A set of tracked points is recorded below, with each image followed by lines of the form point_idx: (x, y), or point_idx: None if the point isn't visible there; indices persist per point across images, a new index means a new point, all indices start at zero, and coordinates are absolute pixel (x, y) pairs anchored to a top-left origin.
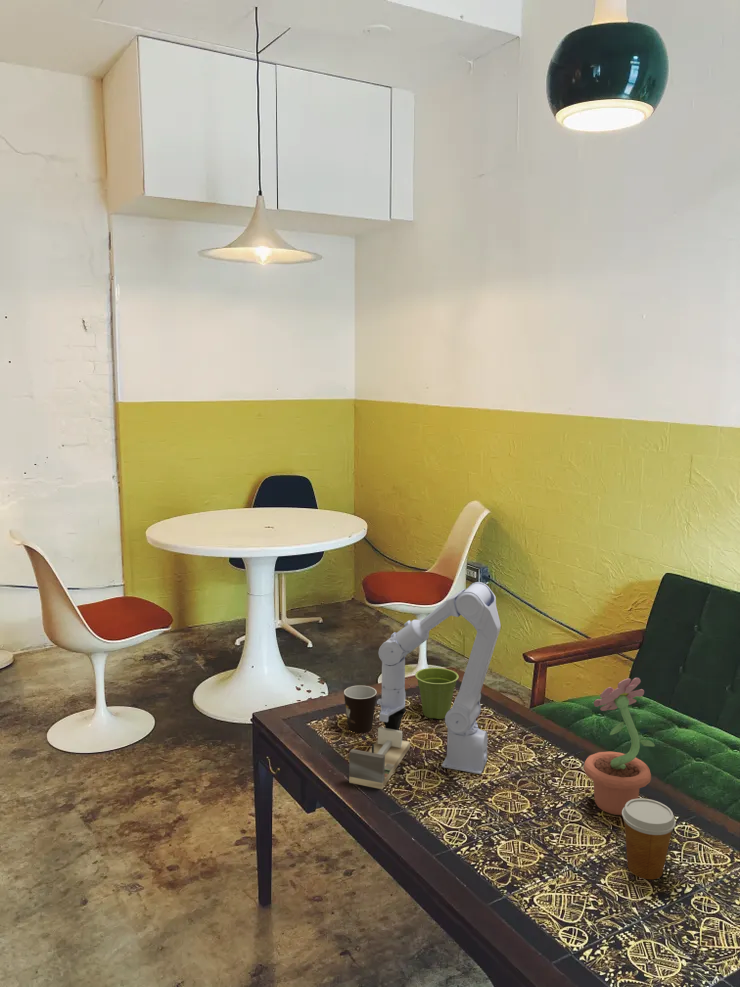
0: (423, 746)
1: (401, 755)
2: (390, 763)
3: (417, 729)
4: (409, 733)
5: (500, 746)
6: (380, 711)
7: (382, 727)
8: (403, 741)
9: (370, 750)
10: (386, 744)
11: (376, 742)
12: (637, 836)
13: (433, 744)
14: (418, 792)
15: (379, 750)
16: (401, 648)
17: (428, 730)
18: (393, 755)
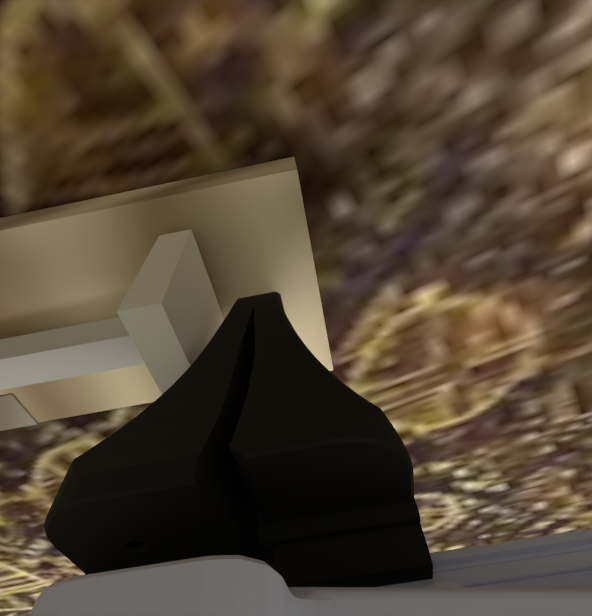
0: (374, 386)
1: None
2: (35, 402)
3: (574, 279)
4: (505, 265)
5: (486, 542)
6: (83, 506)
7: (175, 332)
8: (317, 341)
9: (46, 230)
10: (118, 353)
11: (188, 200)
12: None
13: (415, 408)
14: (16, 509)
15: (5, 359)
16: None
17: (571, 332)
18: (122, 375)
